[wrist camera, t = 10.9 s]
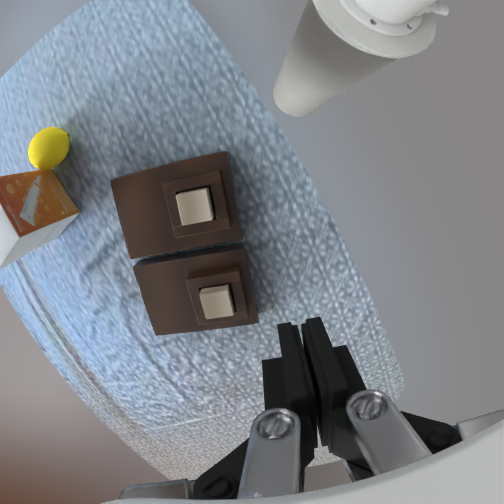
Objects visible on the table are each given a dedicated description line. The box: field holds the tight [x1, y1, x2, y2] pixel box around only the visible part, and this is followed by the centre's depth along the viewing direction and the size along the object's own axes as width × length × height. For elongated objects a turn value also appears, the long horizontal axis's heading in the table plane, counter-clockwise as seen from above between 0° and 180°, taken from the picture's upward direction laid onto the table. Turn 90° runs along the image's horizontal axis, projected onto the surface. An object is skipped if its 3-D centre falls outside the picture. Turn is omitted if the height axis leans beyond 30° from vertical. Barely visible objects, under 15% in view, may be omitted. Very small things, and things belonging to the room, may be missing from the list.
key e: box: [200, 284, 234, 319], centre depth 33 cm, size 3×3×2 cm
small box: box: [0, 169, 80, 270], centre depth 27 cm, size 8×6×13 cm
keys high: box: [133, 243, 259, 335], centre depth 36 cm, size 14×10×4 cm
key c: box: [176, 187, 214, 225], centre depth 30 cm, size 3×3×2 cm
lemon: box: [28, 127, 69, 170], centre depth 29 cm, size 7×5×5 cm
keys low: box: [110, 151, 243, 259], centre depth 32 cm, size 14×10×4 cm
